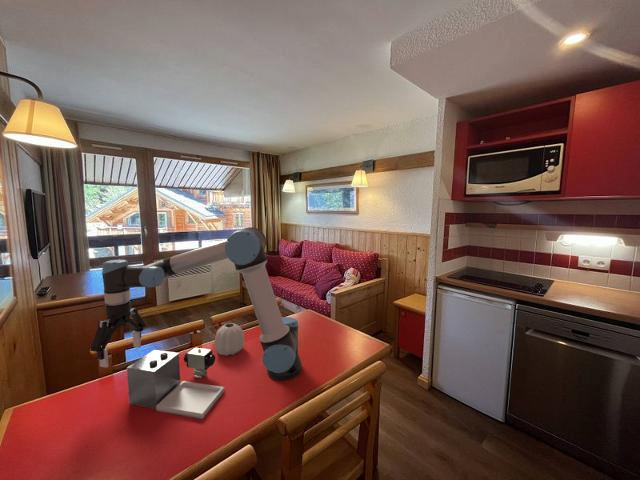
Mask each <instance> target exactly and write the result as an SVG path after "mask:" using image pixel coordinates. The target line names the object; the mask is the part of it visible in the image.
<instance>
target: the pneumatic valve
mask: <svg viewBox="0 0 640 480" xmlns="http://www.w3.org/2000/svg"><path fill="white" fill-rule="evenodd" d="M183 362H184V363H186V368H190V369H193V370H192V371H193V372H192V374H193V377H194V378H195V379H203V378H204V377H206V376H207V375H208V369H210V367H212V366H213V365H214V364H215V362H216V354H214V352H213V349H207V348H206V347H205V348H204V347H202V348H201V347H200V348H199V347H192V348H191V349H190V350H188V351H186V353H185V354H184V356H183Z"/></svg>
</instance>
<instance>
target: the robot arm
mask: <svg viewBox="0 0 640 480" xmlns="http://www.w3.org/2000/svg"><path fill="white" fill-rule="evenodd" d="M266 247H267V237H266V235H265V233H264V232H263V231H262V230H260V229H259V228H257V227H250V226H249V227H246V228H241V229H238V230H234V232H232V233H231V234H230V235H229V236H228V237H227V238H226V239H224V240H221V241H218V242H214V243H211V244H208V245H205V246H201V247H198V248H195V249H192V250H188V251H186V252H182V253H180V254H176V255H173V256H170V257H167V258H163V259H159V260H158V261H157V260H156V261H154V262H151V263H149V264H146V265H137V266H135V265H129V261H128V260H127V259H111V260H107V261H104V262H103V263H102V268H101V269H102V270H101V271H102V273H101V276H102V282H103V299H104V303H105V305H104V310H105V315H106V316H107V317H106V319H105V320H99V321H98V323H97V330H96V332H95V334H94V338H93V341H92V344H91V345H90V349H89V351H90V352H94V353H96V355H97V360H99V367H101V368H109V356H108V348H106V347H107V345H108V344H109V342H110V340H111V338H112V336H113V335H114V333H115V332H116V331H117V330H118V329H119V328H121V327H122V326H123V327H124V326H126V325H127V326H128V327H129V328H130V329H133V330H134V331H132V344H133V348H137V349H140V348H141V347H142V344H141V341H142V340H141V338H142V332H143V331H144V328H145V327H146V324H145V322H144V320H143V319H142V317H141V315H140V314H139V312H138V310H139V309H138V308H136V307H132V302H131V288H148V289H149V288H158V287H159V286H161V285H162V283H163V282H164V280H165V279H166V278H169V277H172V276H176V275H179V274H181V273H185V272H188V271H191V270H194V269H198V268H201V267H205V266H208V265H210V264H214V263H218V262H221V261H225V260H226V259H228V260H229V261H230V262H232V263H233V264H234V268H235V270H236V272H239V273H241V274H242V278H243V280H244V283H245V287H246V289H247V293H248V295H249V298H250V301H251V305H252V306H253V310H254V313H255V316H256V319H257V322H258V325H259V329H260V332H261V334H260V336H259V342H260V345H261V347H262V351H263V353H262V357H261V358H262V364H263V366H264V368H265V369H266V374H267V375H268V376H269V377H270V378H271V379H273V380H276V381H289V380H292V379H295V378H297V377H298V376H299V375H301V373H302V368H303V363H302V361H301V357H300V354H299V321H298V320H297V319H296V318H294V317H290V316H289V317H288V316H285V317H284V316H283V317H282V314H281V311H280V308H279V305H278V301H277V298H276V296H275V293H274V289H273V286H272V283H271V280H270V277H269V274H268V270H267V267H266V265H267V263H268V257H267V254H266V251H265V248H266ZM130 317H131V318H130Z"/></svg>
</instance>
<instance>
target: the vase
mask: <svg viewBox="0 0 640 480" xmlns="http://www.w3.org/2000/svg"><path fill="white" fill-rule="evenodd" d="M244 344H245V335H244V330H243V329H242V327H241V326H240V325H238V324H236V323H234V322H229V323H225V324H223V325H221V326H220V327H219V328H218V329H217V331H216V333H215V338H214V347H215V348H214V349H215V352H217V353H218V354H219V355H221V356H225V357H228V356H230V355H231V356H234V355H235V354H238V353H240V352H241V350H242V349H243V348H244Z"/></svg>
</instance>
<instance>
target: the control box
mask: <svg viewBox="0 0 640 480" xmlns="http://www.w3.org/2000/svg"><path fill="white" fill-rule="evenodd" d="M180 372H181V370H180V353H179V352H174V351H165V350H157V349H153V350H152V351H150V352H149V353H147V354H145V355H143V356H142V357H141V358H140V359H137V360H136V361H135V362H133V363H132V364H129V366H128V367H126V373H127V388H128V401H129V405H130V406H138V407H142V408H143V407H144V408H148V409H152V410H153V409H154V410H156V405H158V404H159V403H160V402H161V401H162V400H163V399H164V398H165V397H166V396H167V395H168V394H169V393H171V392H172V391H173V390H174V389H175V388H176V387H177V386H178V385H179V384H180V383H181V373H180Z"/></svg>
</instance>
